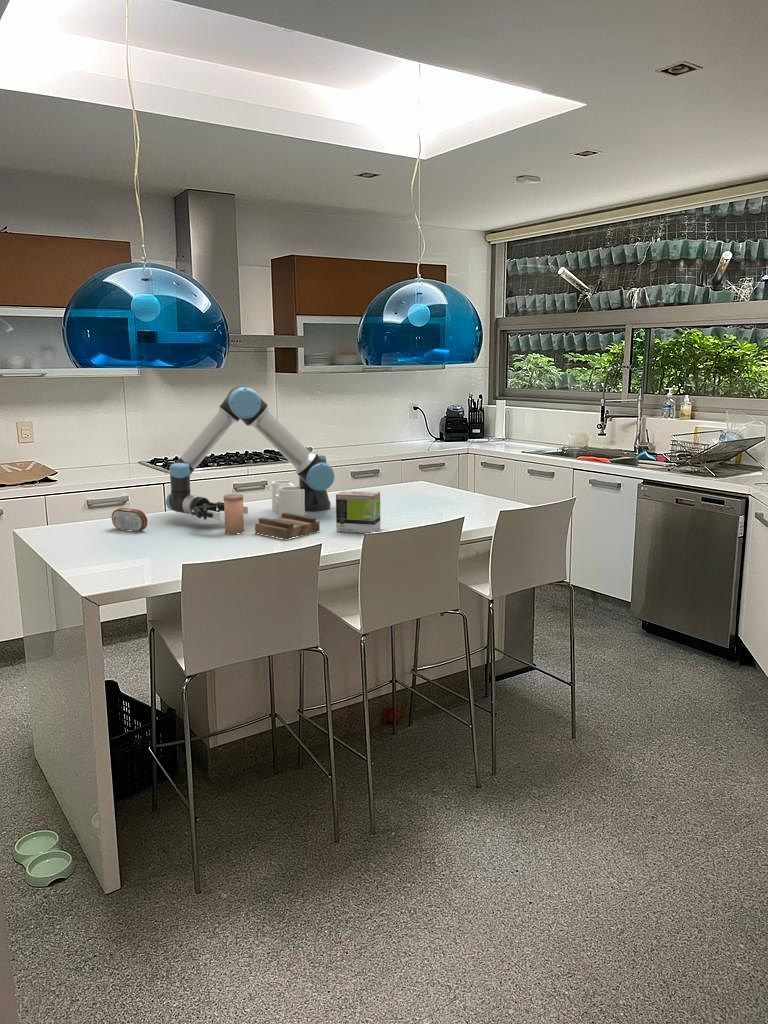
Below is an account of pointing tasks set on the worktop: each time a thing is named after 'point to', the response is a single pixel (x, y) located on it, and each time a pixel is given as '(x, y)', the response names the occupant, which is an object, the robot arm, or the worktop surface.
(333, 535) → the worktop surface
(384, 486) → the worktop surface
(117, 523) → the tin
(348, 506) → the tea box
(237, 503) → the terracotta canister
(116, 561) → the worktop surface
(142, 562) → the worktop surface
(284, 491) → the bracket
